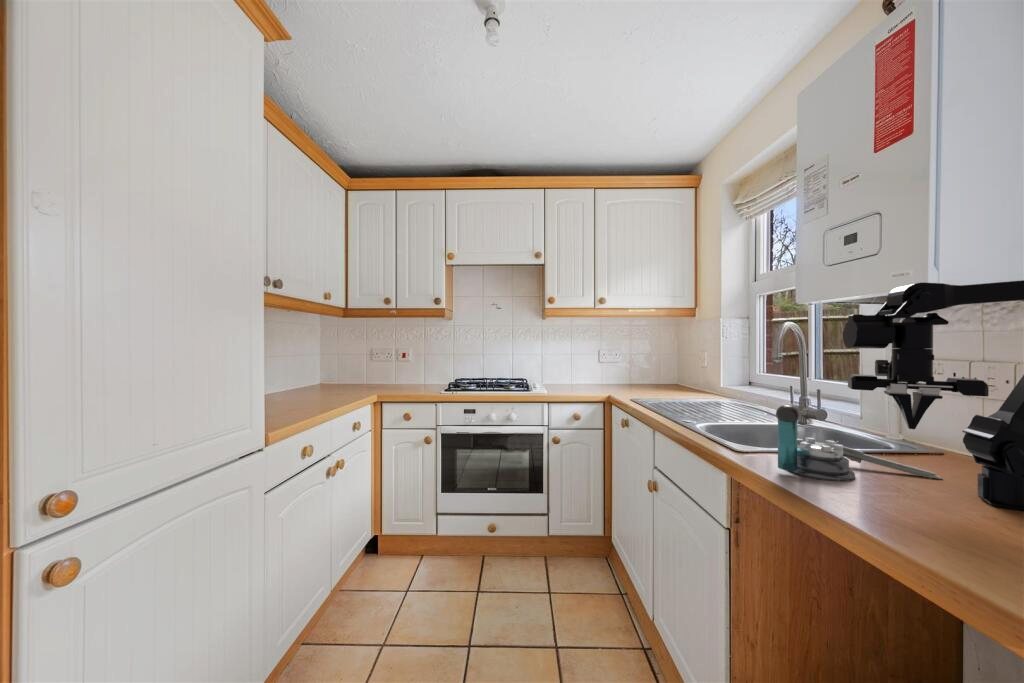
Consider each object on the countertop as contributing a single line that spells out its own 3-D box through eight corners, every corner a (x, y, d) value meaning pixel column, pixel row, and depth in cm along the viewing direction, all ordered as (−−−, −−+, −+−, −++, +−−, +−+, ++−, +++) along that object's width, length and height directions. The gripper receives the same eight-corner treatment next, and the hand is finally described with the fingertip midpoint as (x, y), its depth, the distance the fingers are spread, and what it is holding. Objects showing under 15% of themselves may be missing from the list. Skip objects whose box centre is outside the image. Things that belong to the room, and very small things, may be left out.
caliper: (824, 464, 99) (824, 438, 99) (824, 463, 100) (824, 437, 100) (943, 481, 87) (943, 452, 87) (942, 480, 88) (942, 451, 88)
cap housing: (849, 468, 95) (850, 454, 95) (859, 485, 84) (859, 468, 84) (783, 459, 102) (783, 446, 102) (784, 474, 91) (784, 458, 91)
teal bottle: (853, 469, 90) (853, 405, 90) (798, 475, 86) (799, 408, 86) (813, 458, 99) (813, 399, 98) (762, 463, 94) (762, 402, 94)
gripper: (964, 348, 80) (964, 427, 80) (844, 347, 90) (843, 417, 90) (990, 349, 71) (989, 438, 71) (852, 348, 81) (851, 426, 81)
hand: (911, 428), depth 79 cm, fingers closed
